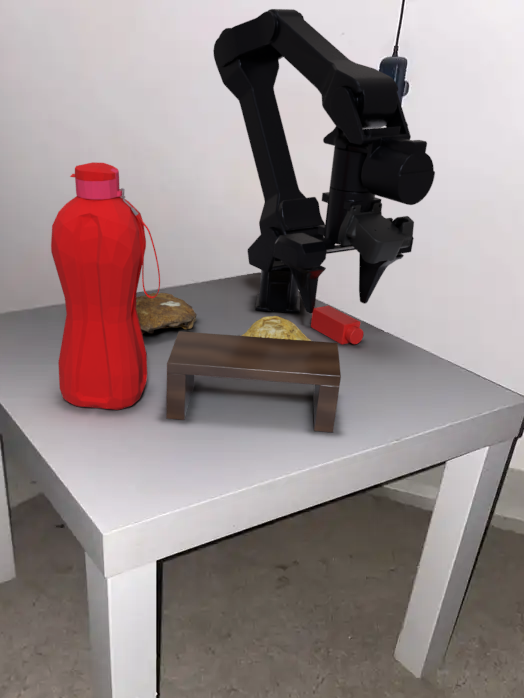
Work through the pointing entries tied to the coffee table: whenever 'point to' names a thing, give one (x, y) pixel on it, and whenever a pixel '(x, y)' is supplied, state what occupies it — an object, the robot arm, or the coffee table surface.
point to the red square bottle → (336, 325)
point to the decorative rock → (163, 312)
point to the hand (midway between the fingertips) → (336, 307)
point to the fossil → (275, 329)
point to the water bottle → (100, 291)
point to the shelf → (254, 368)
